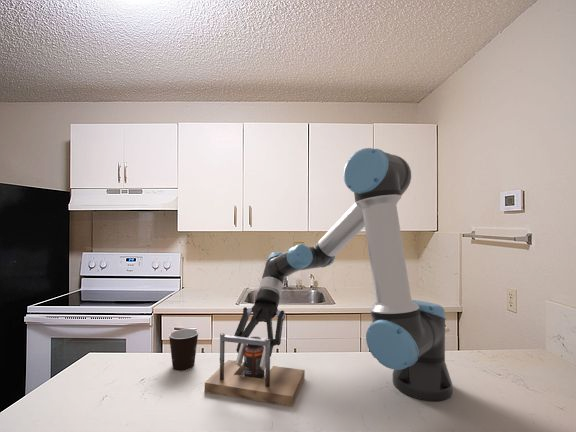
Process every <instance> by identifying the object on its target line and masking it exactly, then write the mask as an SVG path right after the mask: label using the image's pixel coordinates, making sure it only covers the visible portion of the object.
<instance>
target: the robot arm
mask: <svg viewBox="0 0 576 432" xmlns="http://www.w3.org/2000/svg"><path fill="white" fill-rule="evenodd" d="M411 180H412V170H411V166H410V165H409V163H408V162H407V161H406V160H405V159H404V158H403V157H401V156H399V155H396V154H391V153H389V152H385V151H384V150H382V149H379V148H371V147H368V148H367V147H366V148H361V149H359V150H357V151H355V152H354V153H353V154H351V155H350V157H349V159H348V161H347V162H346V163H345V166H344V169H343V181H344V184H345V186H346V187H347V188H348V190H350V191H351V192H352V193H353V196H354V201H355V202H354V203H353V204H352V205H351V206H350V207H349V209H348V210H346V212H345V213H344V214H343V215H341V217H340V218H339V219H338V220H337V221H336V222H335V223H334V224H333V226H332V227H331V228H329V230H328V231H327V232H326V233H325V234H324V235H323V236H322V237H321V238H320V239H319V240H318V241H317V242H316V244H314V245H313V246H308V245H305V244H304V243H299V244H297V245H293V246H292V247H290V248H289V249H288V250H286V251H284V252H279V251H277V252H271V253H270V254H269V256H268V258H267V260H266V262H265V265H264V270H263V273H262V277H261V281H260V283H259V285H258V286H259V287H258V291H257V294H256V297H255V301H254V304H253V305H252V306H251V307H250V308H249V307H248V308H247V307H243V309H242V315H241V317H240V319H239V320H240V321H239V323H238V324H237V325H238V326H237V328H236V330H235V333H234V335H233V336H237V337H246V338H250V337H249V336H251V334H252V332H253V331H254V329H256V328H255V327H256V326H257V325H258V324H260V323H262V322H263V323H266V333H267V338H269V339H270V358H271V356H272V353H273V349H274V347H275V346H280V345H281V341H282V340H281V339H282V331H283V324H284V320H285V319H286V312H285V311H284V310H278V307H279V303H280V300H281V294H282V290H283V286H284V282H285V279H286V277H289V276H291V275H292V274H294V273H297V272H299V271H306V270H312V269H317V268H326V267H329V266H331V265H332V264H333V263H334V262H335V259H336V255H337V254H338V253H339V252H340V251H341V250H342V249H343V248H344V247H345V246H346V245H347V244H348V243H349V242H350V241H352V239H354V238H355V237H356V236H357V235H358V234H359V233H360V231H362V230H363V229H364V230H365V236H366V244H367V251H368V257H369V258H368V260H369V263H370V265H369V266H370V272H371V278H372V279H371V280H372V285H373V293H374V299H375V302H374V304H373V305H372V306H371V308H370V315H371V321H372V322H371V323H370V324H369V326H368V328H367V330H366V332H365V333H366V334H365V341H366V342H365V343H366V346H367V348H368V350H369V352H370V354H371V355H372V357H373V358H375V359H376V360H377V362H378V363H379V364H381V365H382V366H383V367H385V368H388V369H390V370H393V371H392V384H393V385H394V386H395V388H396V389H398V391H400V392H402V393H403V394H404V395H407V396H409V397H412V398H415V399H418V400H422V401H431V402H436V401H437V402H438V401H439V402H441V401H444V400H447V399H449V398H451V397H452V395H453V382H452V379H451V375H450V372H449V370H448V367H447V364H446V320H447V319H446V318H447V317H446V314H445V311H446V310H445V309H444V307H443V306H441V305H440V304H437V303H433V302H430V301H425V300H424V301H422V300H418V299H417V300H416V299H412V297H411V295H412V294H411V289H410V283H409V276H408V275H409V274H408V269H407V265H406V264H407V263H406V259H405V251H404V245H403V244H404V243H403V237H402V232H401V231H402V230H401V226H400V221H399V220H400V219H399V214H398V207H397V205H398V202H400V200H401V199H402V196H403V194H404V193H405V192H406V191H407V190H408V188H409V186H410V184H411V182H412V181H411ZM251 314H253V315H252V316H251ZM250 316H251V318H250V321H249V317H250ZM275 317H277V319H276V328H275V334H274V331H273V319H274V318H275ZM248 321H249V322H248ZM247 345H248V344H243V343H237V347H236V353H237V356H236V360H235V361H236V364H237V366H238V367H241V364H242V362H244V361H243V360H244V348H245V347H246V346H247ZM265 350H266V346H264V350H263V354H262V358H261V363H260V368H261V369H262V370H265Z"/></svg>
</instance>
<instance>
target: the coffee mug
mask: <svg viewBox="0 0 576 432" xmlns="http://www.w3.org/2000/svg"><path fill="white" fill-rule="evenodd" d="M168 336H169V337H168V338H169V345H170V355H171V363H172V369H173V370H174V371H177V372H183V371H188V370H191V369H192V368H193V367H195V361H196V354H197V353H196V352H197V346H198V337H199V331H198V330H197V329H194V328H181V329H178V330H174V331H172V332H170V333H169V335H168Z"/></svg>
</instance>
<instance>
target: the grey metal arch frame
mask: <svg viewBox="0 0 576 432" xmlns="http://www.w3.org/2000/svg"><path fill="white" fill-rule="evenodd" d="M225 342H226V343H237V344H238V343H243V344H247V345H248V344H251V345H260V346H266V350H265V377H264V378H265V386H266V387H269V386H270V370H271V357H270V339H269V338H268V337H267V338H265V339H264V338H263V339H262V338H261V339H255V338H250V337H248V338H246V337H237V336H234V335H227V334H225V333H220V334H219V368H220V380H224V363H225V346H226V345H225Z"/></svg>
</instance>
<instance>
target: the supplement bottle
mask: <svg viewBox="0 0 576 432" xmlns="http://www.w3.org/2000/svg"><path fill="white" fill-rule="evenodd" d="M249 338H255V339H262V337H260V336H250V337H249ZM263 350H264V346H260V345H251V344H247V346H246V347H245V348H244V357H243V360H244V361H243V362H244V372H243V376H247V377H254V378H260V379H264V378H265V370H262V369H261V368H260V363H261V358H262V354H263Z"/></svg>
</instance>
